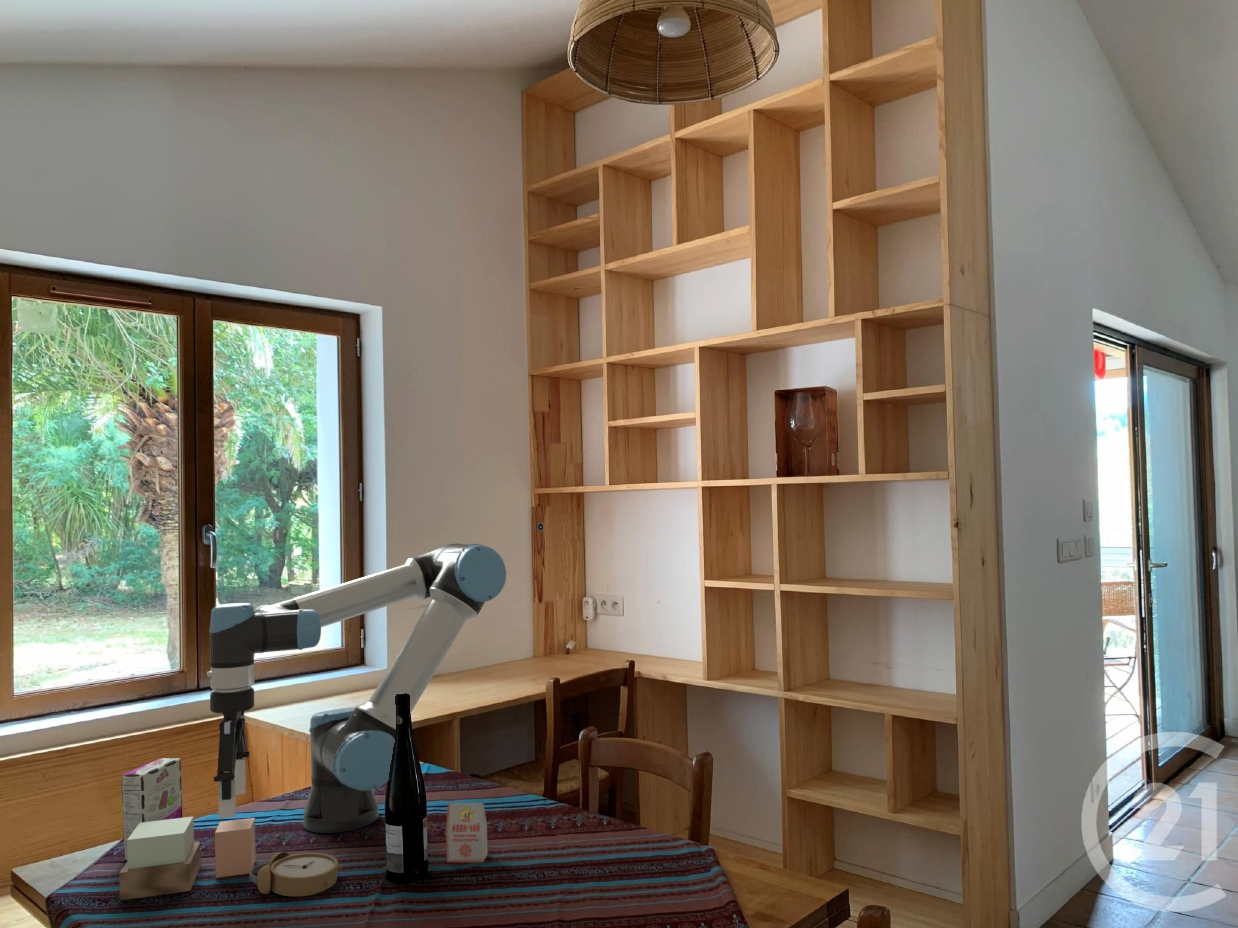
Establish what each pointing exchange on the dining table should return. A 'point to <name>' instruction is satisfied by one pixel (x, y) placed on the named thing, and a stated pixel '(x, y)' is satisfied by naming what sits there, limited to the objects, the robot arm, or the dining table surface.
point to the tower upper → (160, 842)
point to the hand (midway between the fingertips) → (232, 805)
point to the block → (235, 847)
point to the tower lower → (160, 877)
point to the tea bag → (466, 832)
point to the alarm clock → (296, 874)
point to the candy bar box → (151, 794)
